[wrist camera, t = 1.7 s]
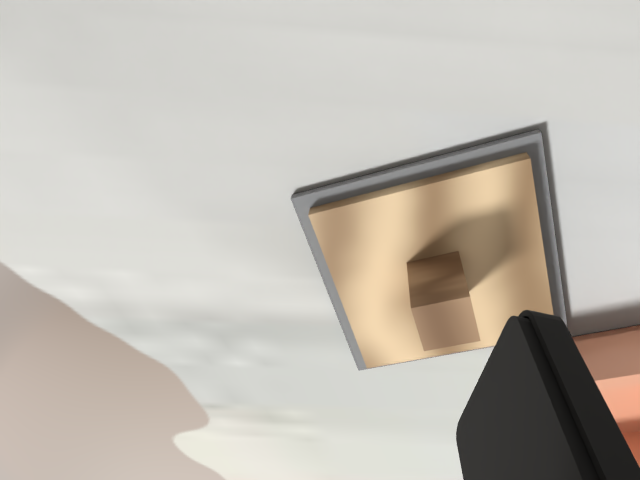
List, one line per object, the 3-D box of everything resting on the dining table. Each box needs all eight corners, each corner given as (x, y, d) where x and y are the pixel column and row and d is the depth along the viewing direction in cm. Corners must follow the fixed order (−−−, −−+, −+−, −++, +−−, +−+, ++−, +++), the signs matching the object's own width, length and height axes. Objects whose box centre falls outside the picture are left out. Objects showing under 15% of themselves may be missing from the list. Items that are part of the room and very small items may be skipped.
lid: (526, 152, 33) (554, 195, 27) (552, 325, 39) (579, 387, 34) (309, 208, 36) (299, 256, 31) (367, 359, 42) (366, 420, 37)
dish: (669, 319, 39) (701, 364, 35) (670, 429, 44) (699, 478, 40) (499, 349, 41) (511, 393, 38) (520, 449, 47) (533, 497, 43)
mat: (538, 129, 32) (541, 132, 32) (565, 327, 40) (568, 333, 39) (291, 194, 36) (290, 198, 36) (358, 365, 44) (358, 370, 43)
